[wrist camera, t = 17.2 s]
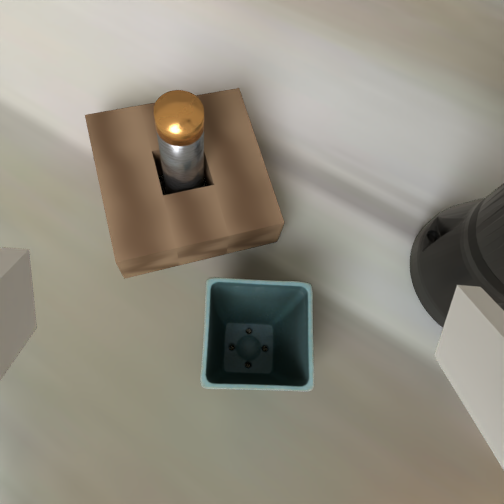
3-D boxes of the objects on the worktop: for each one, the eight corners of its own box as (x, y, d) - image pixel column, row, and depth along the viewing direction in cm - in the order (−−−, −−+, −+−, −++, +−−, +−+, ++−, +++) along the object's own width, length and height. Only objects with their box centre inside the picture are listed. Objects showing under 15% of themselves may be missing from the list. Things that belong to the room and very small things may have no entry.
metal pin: (198, 172, 52) (197, 86, 39) (207, 204, 50) (209, 127, 37) (162, 179, 51) (148, 94, 38) (170, 212, 50) (159, 136, 37)
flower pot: (294, 398, 44) (315, 391, 36) (200, 395, 44) (199, 388, 35) (293, 306, 48) (312, 281, 39) (205, 303, 47) (206, 276, 38)
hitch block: (235, 116, 55) (239, 88, 50) (276, 241, 50) (284, 222, 45) (95, 143, 52) (84, 114, 47) (124, 278, 47) (115, 262, 42)
